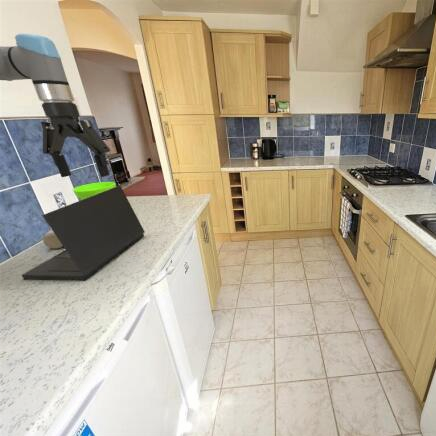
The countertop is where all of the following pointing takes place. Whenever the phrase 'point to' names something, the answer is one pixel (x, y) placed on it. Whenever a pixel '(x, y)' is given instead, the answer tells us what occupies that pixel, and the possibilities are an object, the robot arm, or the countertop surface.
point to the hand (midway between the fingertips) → (85, 176)
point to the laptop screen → (95, 227)
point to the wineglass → (92, 189)
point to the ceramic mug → (52, 240)
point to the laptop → (66, 267)
